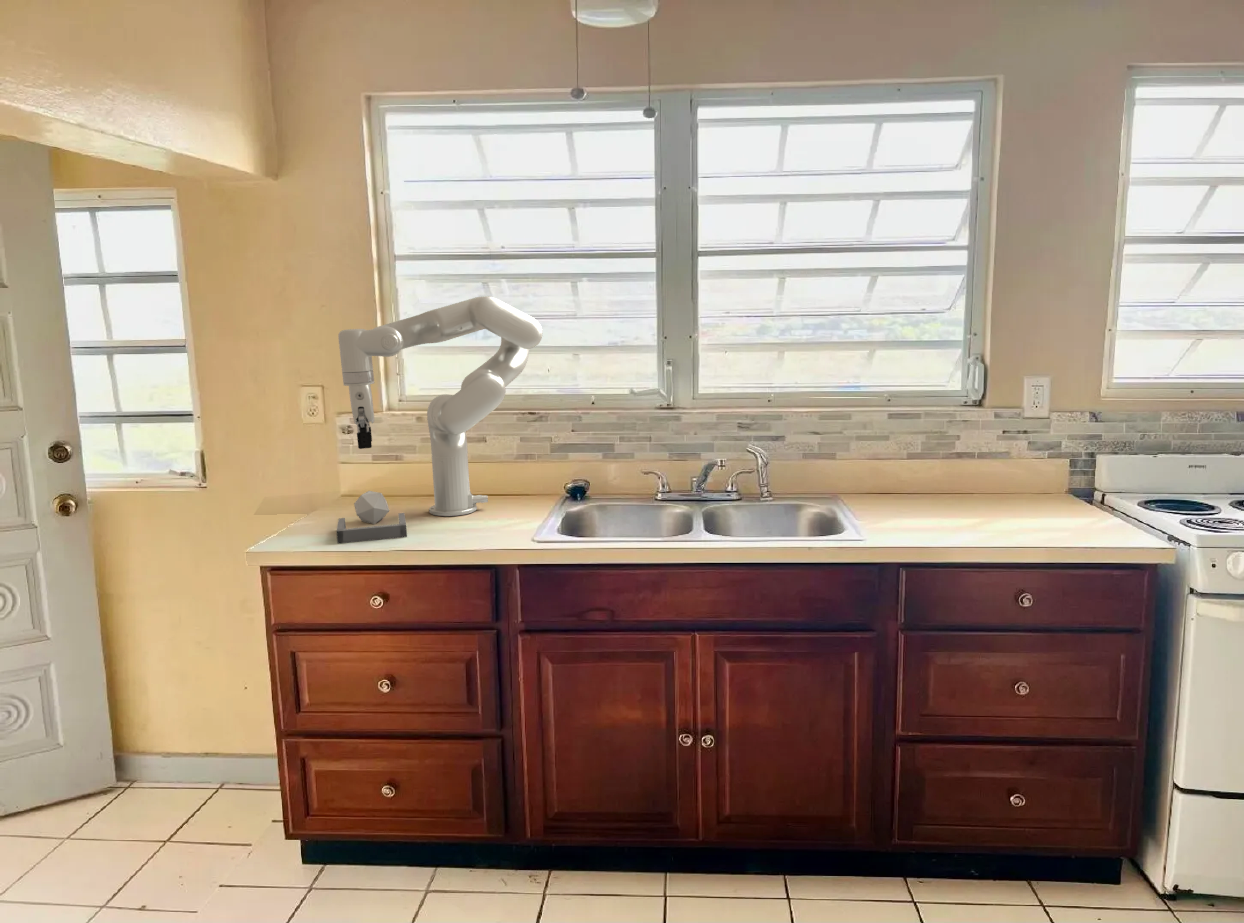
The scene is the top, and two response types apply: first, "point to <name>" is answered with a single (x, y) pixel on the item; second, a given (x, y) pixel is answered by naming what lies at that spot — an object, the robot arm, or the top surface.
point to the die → (371, 507)
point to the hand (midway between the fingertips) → (365, 445)
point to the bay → (371, 531)
